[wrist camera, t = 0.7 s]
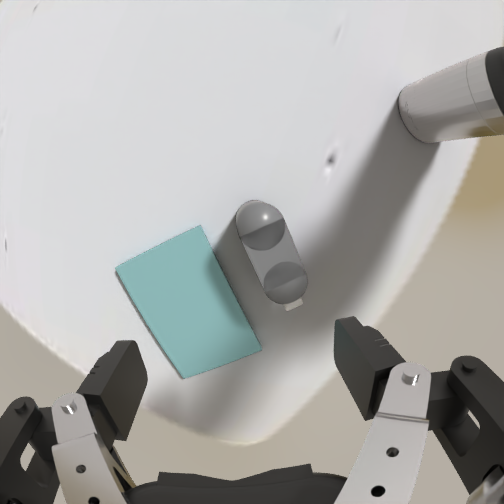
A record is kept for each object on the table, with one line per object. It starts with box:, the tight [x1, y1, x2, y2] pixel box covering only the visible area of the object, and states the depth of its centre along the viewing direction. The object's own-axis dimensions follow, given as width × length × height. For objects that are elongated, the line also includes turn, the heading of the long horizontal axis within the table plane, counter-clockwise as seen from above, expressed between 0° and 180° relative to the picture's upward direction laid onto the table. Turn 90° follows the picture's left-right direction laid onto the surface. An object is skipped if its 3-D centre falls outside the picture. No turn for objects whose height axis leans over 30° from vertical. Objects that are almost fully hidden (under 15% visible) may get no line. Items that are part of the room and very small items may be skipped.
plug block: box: [236, 200, 308, 311], centre depth 30 cm, size 4×12×7 cm, turn 24°
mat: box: [115, 225, 262, 379], centre depth 34 cm, size 12×18×1 cm, turn 24°
